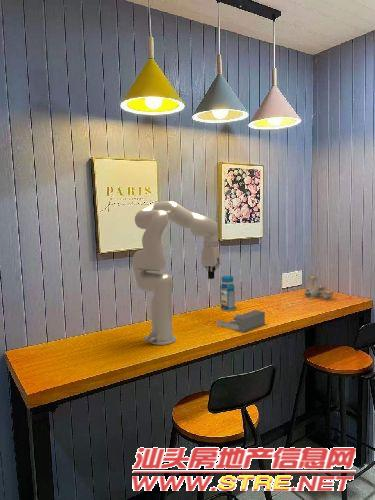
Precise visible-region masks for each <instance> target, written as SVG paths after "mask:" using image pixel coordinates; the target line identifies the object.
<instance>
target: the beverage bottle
mask: <svg viewBox="0 0 375 500" xmlns="http://www.w3.org/2000/svg"><path fill="white" fill-rule="evenodd" d="M221 282H222V283H221V286H220V289H221V290H220V300H221V301H220V305H221V306H220V308H221V310H222V311H225V312H231V311H234V310H235V309H236V305H235V304H236V303H235V301H236V300H235V293H236V291H235V289H236V288H235V287H236V286H235V285H234V283H233V282H234V276H232V275H223V276H221Z"/></svg>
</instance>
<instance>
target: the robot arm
mask: <svg viewBox="0 0 375 500" xmlns="http://www.w3.org/2000/svg"><path fill="white" fill-rule="evenodd" d="M169 221H171V222H173V223H175V224H177V226H180V227H182V228H186V229H190V232H191V234H192V235H193V236H196V237H203V243H202V244H203V247H202V250H201V259H200V260H201V261H200V262H201V266H203V268H206V272H207V275H208V277H207V278H208V280H213V279H215V272H216V270H217V269H219V268H220V264H221V254H220V253H221V252H220V248H219V244H218V243H219V242H218V240H219V238H218V237H219V235H218V234H219V233H218V228H219V227H218V222H217V221H214V220H213V219H211V218H209V217H208V216H205V215H202V214H199V213H197V212H193V211H190V210H189V209H186V208H185V207H184V206H182V205H180V204H179V203H178V202H176V201H172V200H168V201H167V200H166V201H156V202H154V203H152V204H151V205H150V204H149V205H148V206H146V207H145V208H142V209H141V210H139V211H138V212H137V213H136V214H135V216H134V224H135V225H136V227H137V228H139V229H140V230H141V229H142V230H145V231H144V232H143V235H142V237H141V238H142V239H141V242H142V243H141V244H142V249H139V250H137V251H136V252H134V254H133V257H132V267H133V272H134V275H135V280H136V283H137V286H138V288H139V289H140V291H143V292H146V293H151V294H152V293H153V295H152V298H151V301H150V320H151V322H150V323H151V325H150V326H151V331H150V332H149V334H148V335H146V336H144V337H143V338H142V339H143V341H144V342H147V341H148V342H149V343H150V344H152V345H156V346H163V345H171V344H173V343H175V342H176V341H177V336H176V335H174V334H173V311H172V308H173V307H172V295H173V294H172V293H173V288H174V287H173V286H174V282H173V278H172V277H171V275H170V274H168V273H165V272H161V271H162V270H164V268H166V267H165V266H166V258H165V254H164V247H163V242H162V235H163V232H164V230H165V229H166V227H167V226H168V222H169Z"/></svg>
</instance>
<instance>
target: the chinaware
mask: <svg viewBox="0 0 375 500" xmlns="http://www.w3.org/2000/svg"><path fill="white" fill-rule="evenodd" d="M318 278H319V277H318V276H316V274H314V273H313V272H312V273H311V274H310V275H309V276H307V282H308V283H307V287H306V289H305V291H304V295H305V298H307V299H319V298H320V296H321V298H322V299H323V300H324V301H330V299H331V298H332V297H333V294H334V290H333V291H331V290H325V289H326V288H327V286H325V285H319V284H318Z"/></svg>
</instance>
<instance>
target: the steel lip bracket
mask: <svg viewBox="0 0 375 500" xmlns="http://www.w3.org/2000/svg"><path fill="white" fill-rule="evenodd" d="M265 315H266V314H265V311H262V310H261V311H260V310H255V309H254V310H251V311H249V312H246V313H242V314H240V313H239V314H238V313H236V314H235V316H234V317H233V320H236V321H238V324H239V325H237V324H233V323H230V321H229V322H228V321H223V320H219V319H218V320H217V321H216V325H217V326H218V327H222V328H226V329H231V330H234V331H238V332H239V333H247V332H248V331H251V330H254V329H256V328H260V327H261V326H264V325H265V324H266V316H265Z"/></svg>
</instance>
